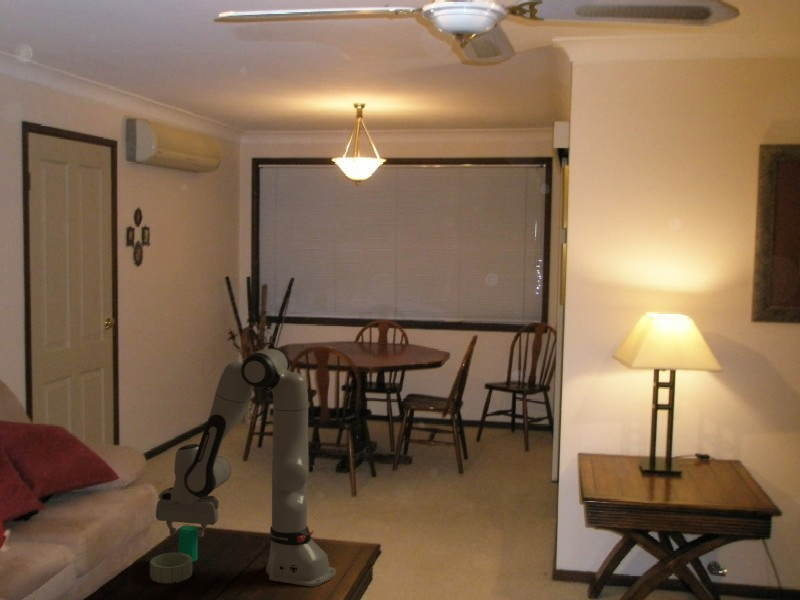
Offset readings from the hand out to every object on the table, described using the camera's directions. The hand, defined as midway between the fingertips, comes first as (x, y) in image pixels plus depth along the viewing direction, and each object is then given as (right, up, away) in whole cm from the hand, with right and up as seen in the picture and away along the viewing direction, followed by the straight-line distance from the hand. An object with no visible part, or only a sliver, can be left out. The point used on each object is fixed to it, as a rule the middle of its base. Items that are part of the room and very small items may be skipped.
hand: (186, 535), depth 277 cm
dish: (-2, -9, -12) cm, 15 cm away
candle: (0, -8, +1) cm, 8 cm away
